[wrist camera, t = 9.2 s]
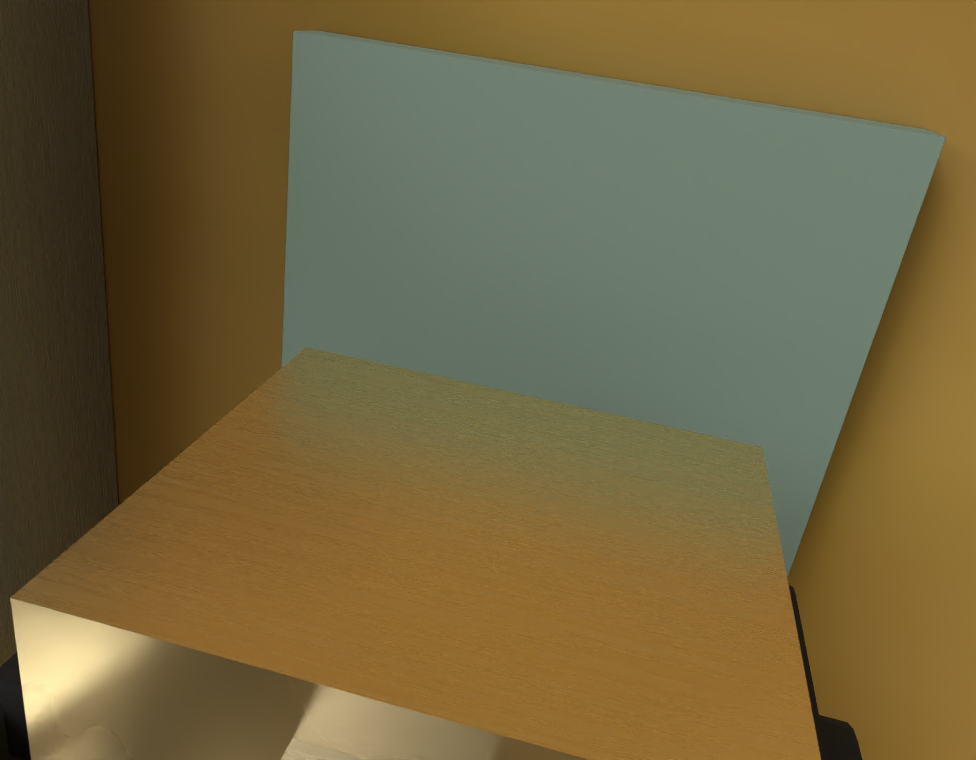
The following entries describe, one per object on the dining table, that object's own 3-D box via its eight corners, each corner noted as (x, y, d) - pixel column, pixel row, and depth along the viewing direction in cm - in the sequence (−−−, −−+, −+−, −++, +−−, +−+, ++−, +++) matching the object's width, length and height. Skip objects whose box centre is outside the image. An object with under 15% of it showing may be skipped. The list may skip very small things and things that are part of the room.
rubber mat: (318, 30, 11) (293, 31, 11) (927, 129, 10) (945, 137, 10) (287, 684, 16) (269, 714, 16) (694, 797, 15) (694, 835, 15)
